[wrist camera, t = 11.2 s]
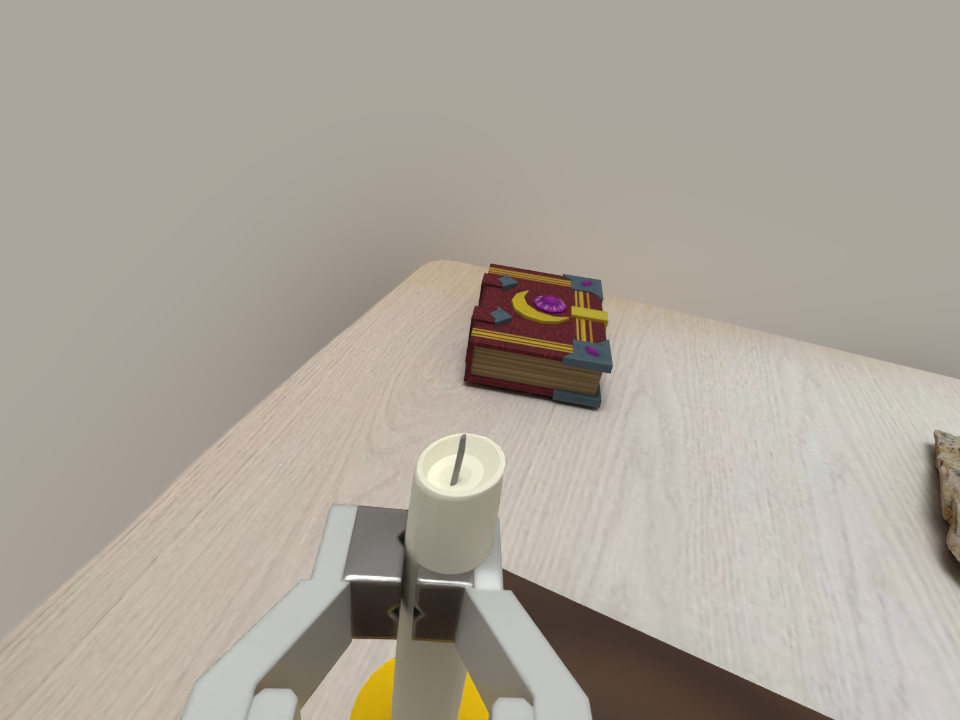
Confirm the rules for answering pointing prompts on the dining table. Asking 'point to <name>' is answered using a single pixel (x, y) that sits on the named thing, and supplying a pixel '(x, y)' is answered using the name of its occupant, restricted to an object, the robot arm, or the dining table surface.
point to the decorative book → (539, 335)
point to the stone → (949, 485)
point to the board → (643, 668)
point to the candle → (447, 550)
